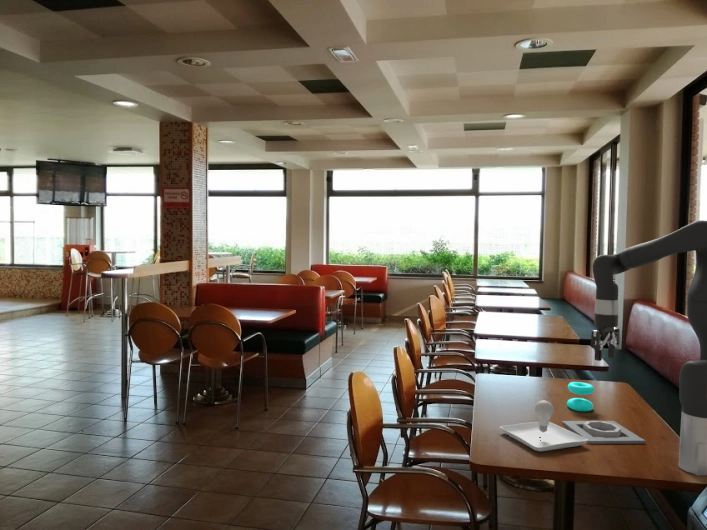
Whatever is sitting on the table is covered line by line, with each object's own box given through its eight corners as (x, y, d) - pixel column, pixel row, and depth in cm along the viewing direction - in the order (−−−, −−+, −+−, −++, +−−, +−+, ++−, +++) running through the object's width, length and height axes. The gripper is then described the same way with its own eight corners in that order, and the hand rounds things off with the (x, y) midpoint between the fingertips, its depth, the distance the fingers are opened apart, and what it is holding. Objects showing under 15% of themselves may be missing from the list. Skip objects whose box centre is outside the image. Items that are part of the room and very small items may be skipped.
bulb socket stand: (645, 443, 190) (645, 436, 190) (588, 443, 189) (588, 436, 188) (613, 423, 210) (613, 416, 210) (561, 423, 208) (562, 417, 208)
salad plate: (497, 434, 198) (498, 425, 197) (546, 428, 205) (547, 419, 205) (537, 457, 178) (537, 447, 178) (589, 450, 185) (590, 439, 185)
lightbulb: (556, 434, 189) (557, 402, 189) (541, 436, 187) (542, 403, 187) (544, 428, 195) (546, 397, 195) (530, 429, 193) (531, 398, 193)
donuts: (571, 387, 223) (564, 380, 233) (570, 411, 223) (563, 404, 233) (597, 388, 222) (589, 381, 232) (596, 413, 222) (588, 405, 232)
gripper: (605, 315, 186) (604, 363, 186) (627, 312, 194) (626, 358, 195) (584, 312, 192) (583, 359, 192) (607, 310, 200) (605, 355, 201)
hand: (604, 359), depth 193 cm, fingers open, 8 cm apart
